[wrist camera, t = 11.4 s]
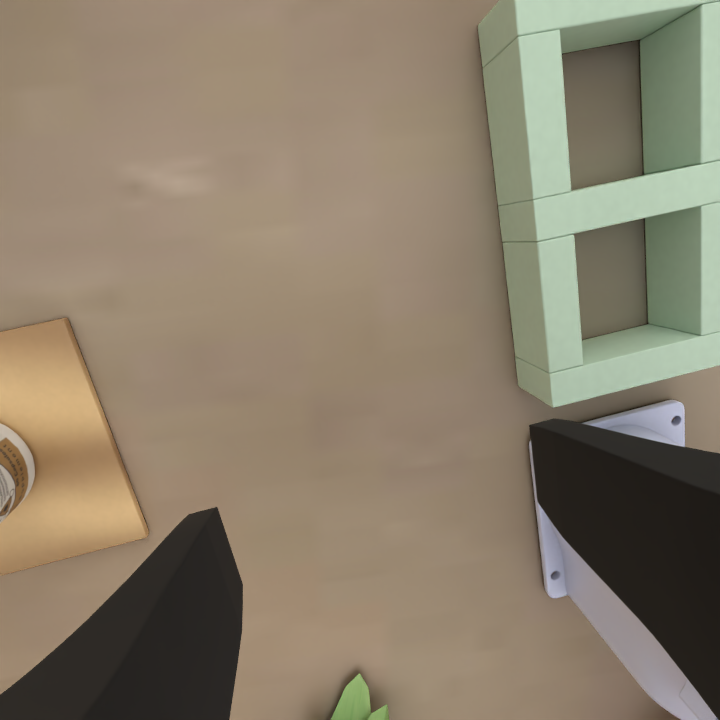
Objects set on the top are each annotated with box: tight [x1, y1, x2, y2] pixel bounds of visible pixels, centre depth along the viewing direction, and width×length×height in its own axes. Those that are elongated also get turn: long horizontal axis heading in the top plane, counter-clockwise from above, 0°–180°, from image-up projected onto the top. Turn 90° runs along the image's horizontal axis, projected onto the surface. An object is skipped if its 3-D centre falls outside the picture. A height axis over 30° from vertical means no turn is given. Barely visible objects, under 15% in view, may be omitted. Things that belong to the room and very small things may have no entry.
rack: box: [478, 0, 720, 408], centre depth 19 cm, size 15×8×3 cm, turn 12°
